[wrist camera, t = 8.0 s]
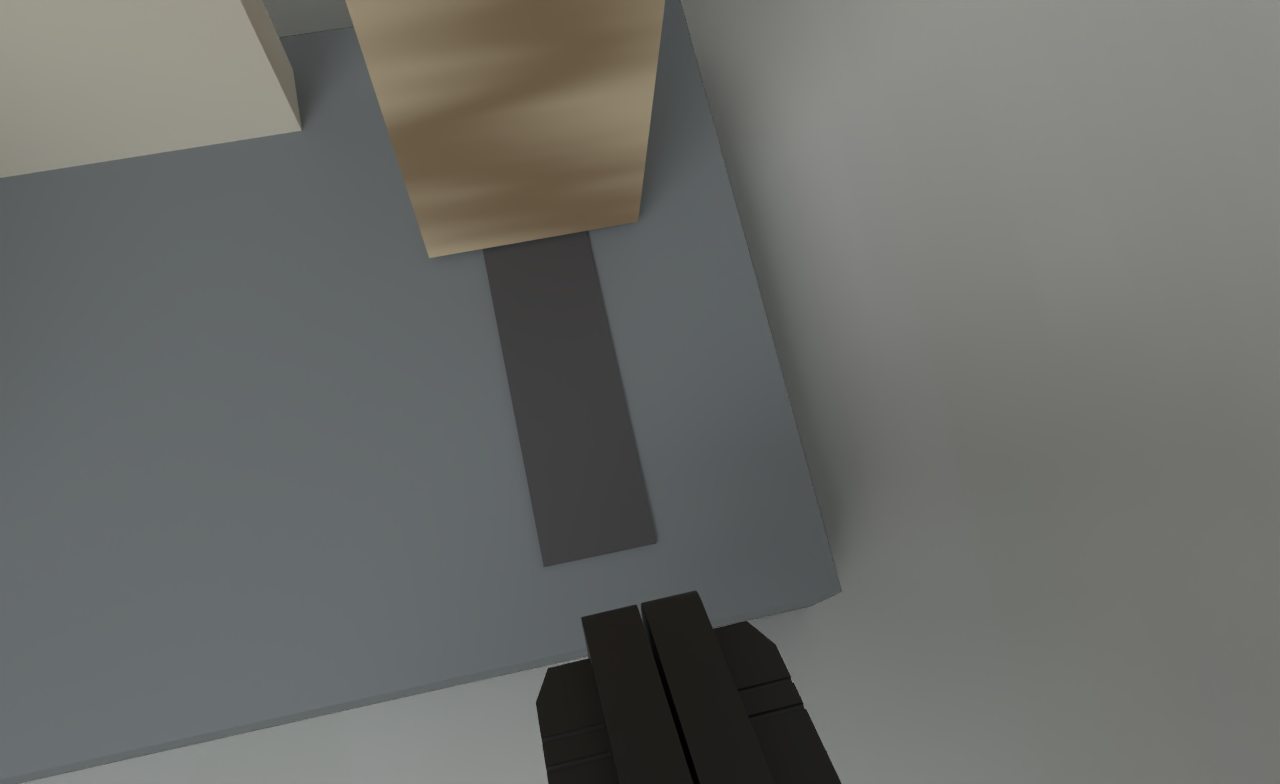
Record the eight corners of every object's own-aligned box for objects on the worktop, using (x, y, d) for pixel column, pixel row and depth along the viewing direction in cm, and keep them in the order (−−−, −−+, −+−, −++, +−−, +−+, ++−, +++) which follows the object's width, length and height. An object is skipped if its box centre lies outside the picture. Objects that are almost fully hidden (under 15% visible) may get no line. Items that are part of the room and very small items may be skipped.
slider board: (-535, 907, 18) (-1719, 1111, 8) (-469, 227, 21) (-1250, -136, 12) (811, 606, 20) (996, 519, 11) (665, 52, 24) (717, -348, 15)
